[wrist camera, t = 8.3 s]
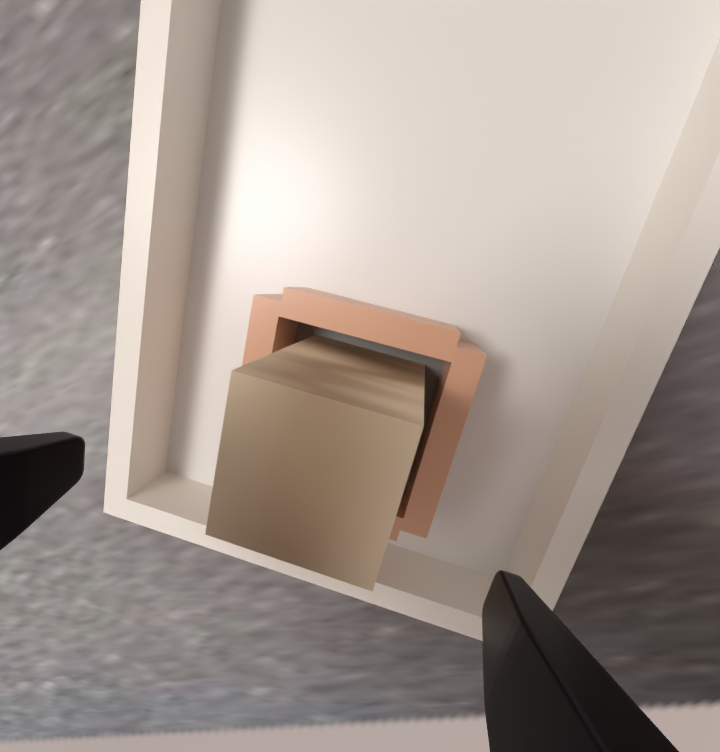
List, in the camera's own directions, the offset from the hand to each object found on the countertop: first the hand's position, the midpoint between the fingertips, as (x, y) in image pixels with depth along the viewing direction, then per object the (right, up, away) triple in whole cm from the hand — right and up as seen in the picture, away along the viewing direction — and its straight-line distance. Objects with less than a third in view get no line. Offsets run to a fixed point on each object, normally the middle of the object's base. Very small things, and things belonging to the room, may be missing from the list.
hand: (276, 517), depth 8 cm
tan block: (+2, +2, +8) cm, 8 cm away
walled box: (+3, +7, +7) cm, 10 cm away
